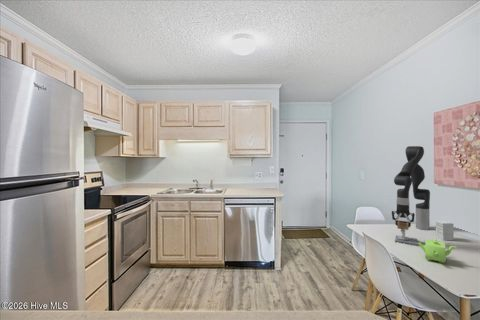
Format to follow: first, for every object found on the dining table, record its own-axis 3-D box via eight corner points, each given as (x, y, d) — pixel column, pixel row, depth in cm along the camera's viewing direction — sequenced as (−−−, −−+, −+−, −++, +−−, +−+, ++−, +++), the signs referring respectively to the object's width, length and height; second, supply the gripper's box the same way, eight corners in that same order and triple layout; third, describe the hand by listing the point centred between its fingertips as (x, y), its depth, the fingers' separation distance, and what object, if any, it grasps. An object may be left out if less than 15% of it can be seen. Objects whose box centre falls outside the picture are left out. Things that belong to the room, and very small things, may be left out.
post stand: (395, 236, 180) (395, 226, 179) (417, 240, 172) (417, 229, 172) (395, 242, 169) (395, 230, 169) (417, 246, 162) (417, 234, 161)
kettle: (434, 253, 149) (435, 236, 149) (458, 264, 135) (458, 244, 135) (413, 255, 147) (413, 237, 147) (435, 266, 133) (435, 246, 133)
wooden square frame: (397, 226, 175) (397, 220, 175) (408, 227, 171) (408, 221, 171) (397, 228, 170) (397, 222, 170) (408, 230, 166) (408, 223, 166)
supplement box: (446, 237, 178) (446, 220, 177) (453, 240, 170) (454, 223, 170) (435, 236, 178) (435, 220, 178) (442, 240, 171) (442, 223, 171)
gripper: (415, 203, 169) (415, 226, 170) (391, 201, 178) (391, 223, 178) (415, 205, 163) (415, 229, 163) (390, 203, 172) (390, 226, 172)
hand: (402, 226), depth 171 cm, fingers closed on wooden square frame, 6 cm apart
